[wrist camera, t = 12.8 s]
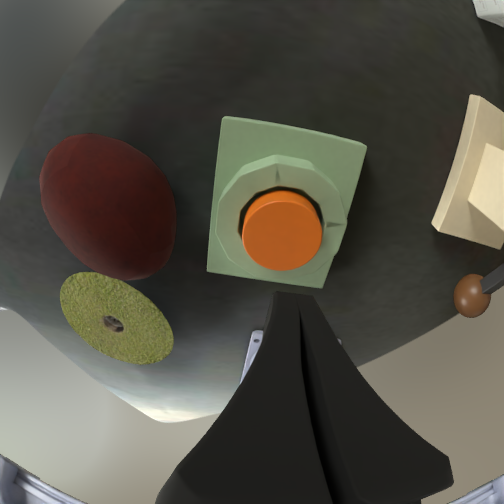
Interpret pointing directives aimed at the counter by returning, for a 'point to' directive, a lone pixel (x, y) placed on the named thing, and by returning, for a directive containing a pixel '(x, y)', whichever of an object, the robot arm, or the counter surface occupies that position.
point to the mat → (116, 318)
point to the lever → (477, 292)
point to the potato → (109, 205)
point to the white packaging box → (490, 10)
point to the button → (281, 230)
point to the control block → (280, 178)
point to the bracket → (476, 179)
